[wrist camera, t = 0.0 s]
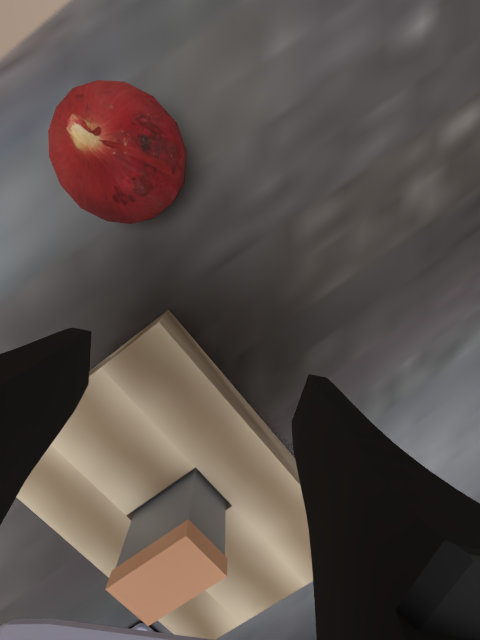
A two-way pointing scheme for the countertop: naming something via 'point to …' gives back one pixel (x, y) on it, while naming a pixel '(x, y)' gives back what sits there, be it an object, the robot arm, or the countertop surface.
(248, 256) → the countertop surface
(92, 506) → the beige wooden board
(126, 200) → the onion
